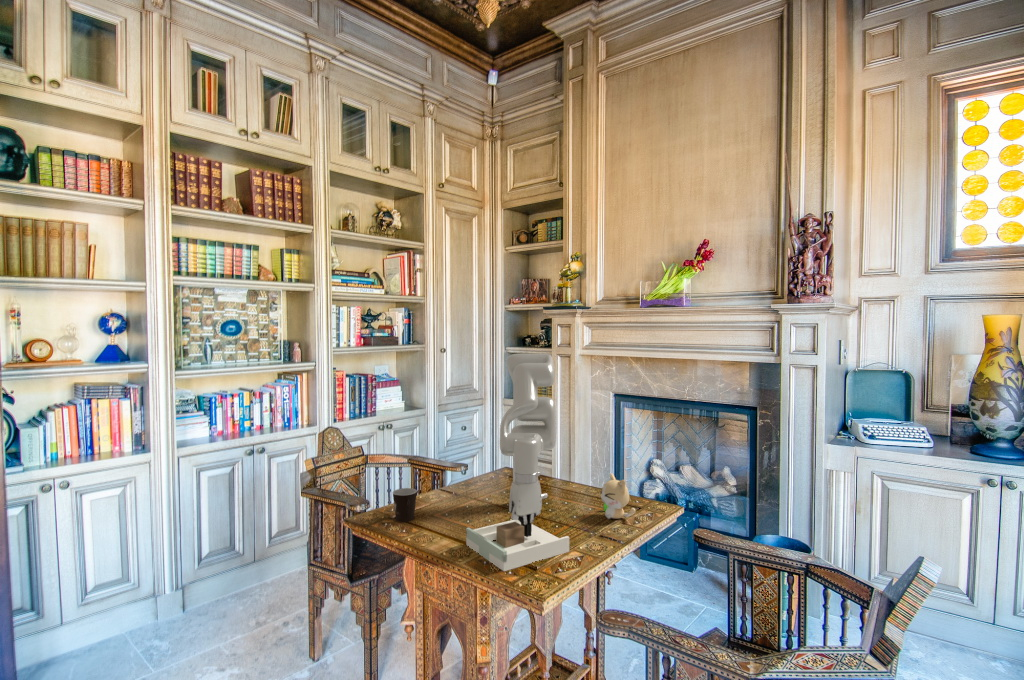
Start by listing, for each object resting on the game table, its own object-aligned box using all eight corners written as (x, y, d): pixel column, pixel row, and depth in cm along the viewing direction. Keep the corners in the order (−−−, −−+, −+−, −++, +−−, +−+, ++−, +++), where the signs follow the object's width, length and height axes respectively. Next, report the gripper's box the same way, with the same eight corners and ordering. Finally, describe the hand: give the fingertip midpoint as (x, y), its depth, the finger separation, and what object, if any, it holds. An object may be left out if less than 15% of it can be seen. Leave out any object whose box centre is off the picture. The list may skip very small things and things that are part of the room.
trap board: (528, 529, 180) (527, 513, 180) (569, 551, 162) (569, 533, 162) (466, 545, 167) (466, 528, 167) (503, 571, 149) (503, 552, 148)
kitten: (593, 511, 198) (593, 472, 197) (617, 509, 200) (617, 469, 200) (611, 525, 183) (611, 482, 183) (636, 522, 186) (636, 480, 186)
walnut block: (515, 537, 167) (514, 521, 167) (524, 542, 163) (524, 526, 163) (496, 542, 163) (496, 526, 163) (505, 547, 159) (505, 531, 159)
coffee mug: (396, 514, 195) (396, 488, 195) (419, 515, 195) (419, 488, 195) (387, 526, 183) (387, 498, 183) (412, 526, 183) (412, 498, 183)
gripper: (537, 471, 173) (538, 526, 173) (499, 478, 165) (500, 536, 165) (552, 476, 167) (552, 533, 167) (513, 484, 159) (513, 544, 159)
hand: (526, 535), depth 166 cm, fingers closed
